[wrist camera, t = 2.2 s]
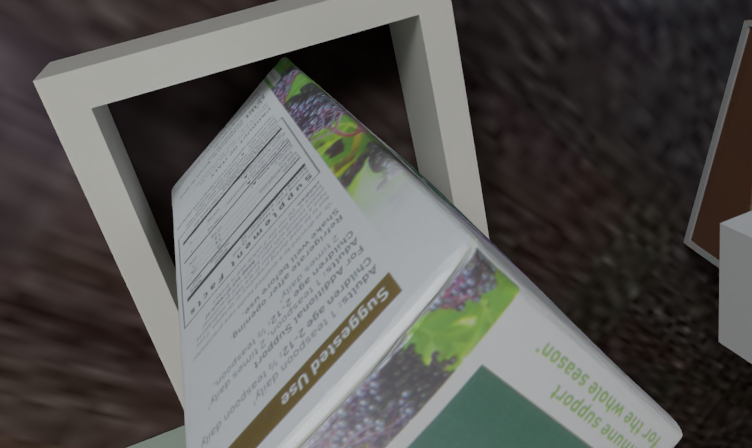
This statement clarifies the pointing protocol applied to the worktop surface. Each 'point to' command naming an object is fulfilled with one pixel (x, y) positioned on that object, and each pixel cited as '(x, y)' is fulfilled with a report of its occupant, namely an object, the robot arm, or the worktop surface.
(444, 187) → the frame
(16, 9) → the worktop surface
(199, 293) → the syrup box
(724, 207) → the food container
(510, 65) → the worktop surface
